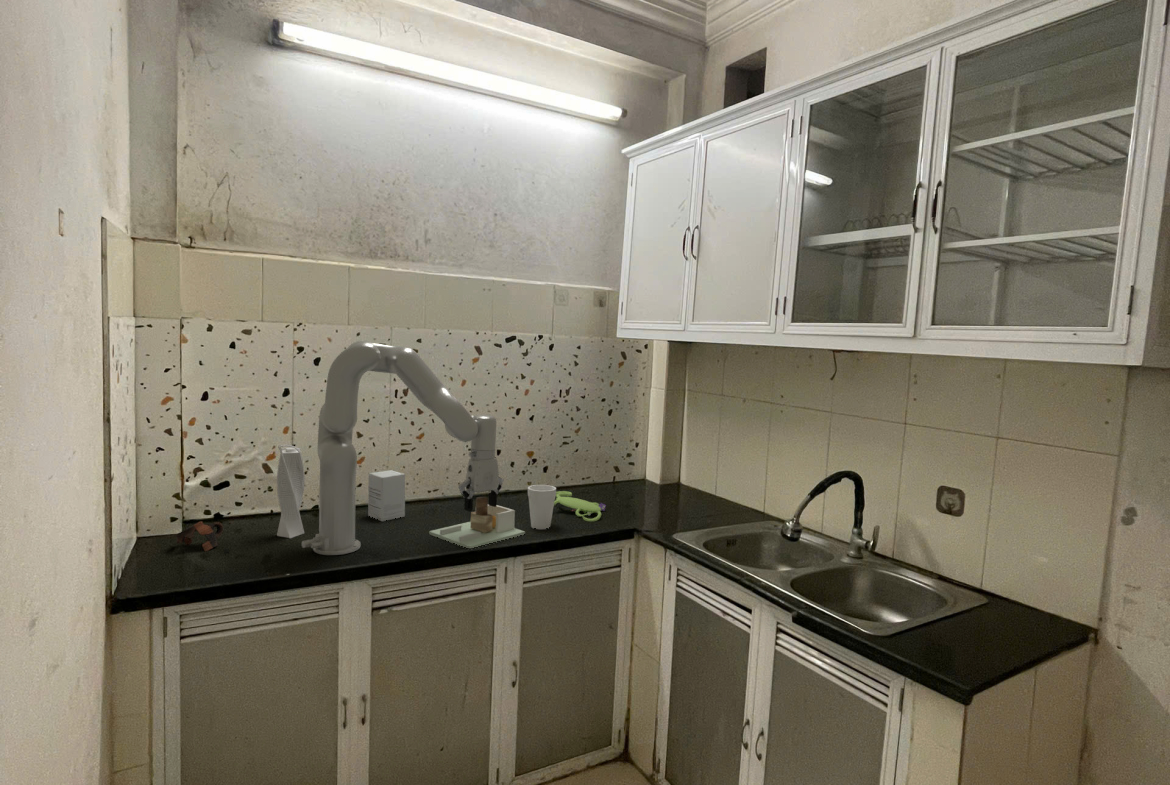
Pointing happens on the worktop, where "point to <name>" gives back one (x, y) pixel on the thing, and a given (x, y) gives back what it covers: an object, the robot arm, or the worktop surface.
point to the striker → (481, 516)
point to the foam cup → (541, 505)
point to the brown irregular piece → (203, 530)
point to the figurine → (580, 505)
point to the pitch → (475, 538)
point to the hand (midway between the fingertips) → (480, 508)
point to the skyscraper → (290, 491)
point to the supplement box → (386, 495)
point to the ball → (494, 522)
